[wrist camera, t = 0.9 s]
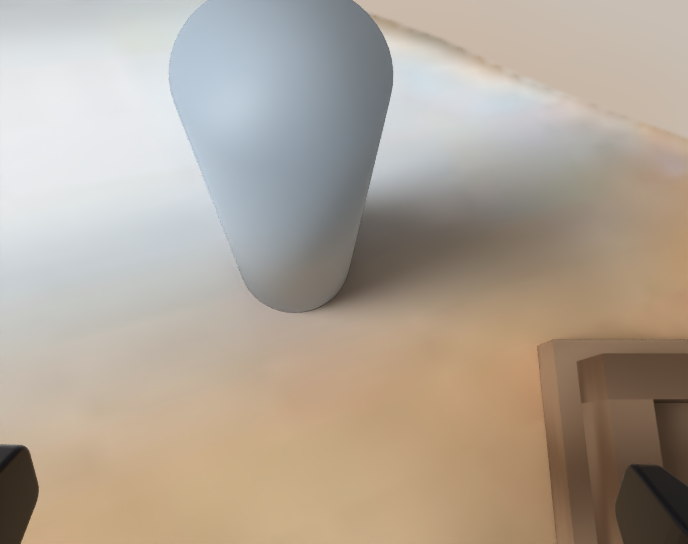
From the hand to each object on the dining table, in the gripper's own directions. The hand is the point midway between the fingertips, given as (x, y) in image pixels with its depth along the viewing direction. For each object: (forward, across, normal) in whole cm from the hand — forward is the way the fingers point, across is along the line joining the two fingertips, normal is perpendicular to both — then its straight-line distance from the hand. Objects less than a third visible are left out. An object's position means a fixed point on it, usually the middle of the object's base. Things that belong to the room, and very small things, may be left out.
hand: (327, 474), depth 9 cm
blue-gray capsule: (+15, +2, +3) cm, 15 cm away
